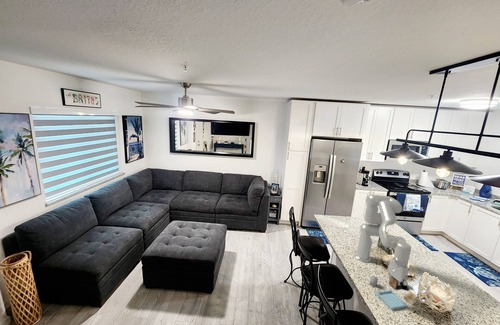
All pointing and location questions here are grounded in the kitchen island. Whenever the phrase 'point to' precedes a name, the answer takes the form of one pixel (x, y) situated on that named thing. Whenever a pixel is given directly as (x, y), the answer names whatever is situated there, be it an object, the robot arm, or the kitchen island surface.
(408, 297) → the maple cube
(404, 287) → the black lumpy block
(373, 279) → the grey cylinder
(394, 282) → the walnut block
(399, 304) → the tray
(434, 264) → the kitchen island surface
